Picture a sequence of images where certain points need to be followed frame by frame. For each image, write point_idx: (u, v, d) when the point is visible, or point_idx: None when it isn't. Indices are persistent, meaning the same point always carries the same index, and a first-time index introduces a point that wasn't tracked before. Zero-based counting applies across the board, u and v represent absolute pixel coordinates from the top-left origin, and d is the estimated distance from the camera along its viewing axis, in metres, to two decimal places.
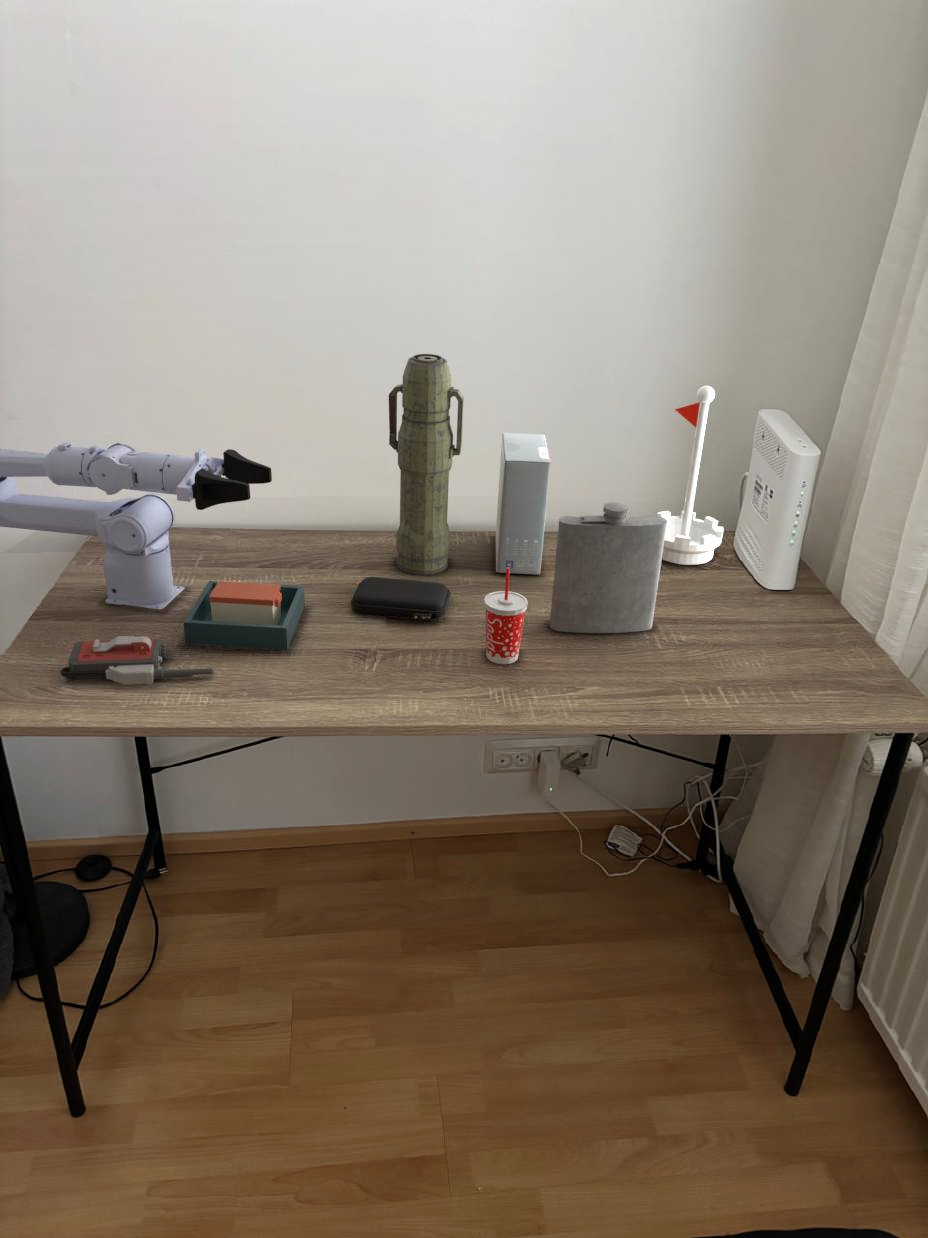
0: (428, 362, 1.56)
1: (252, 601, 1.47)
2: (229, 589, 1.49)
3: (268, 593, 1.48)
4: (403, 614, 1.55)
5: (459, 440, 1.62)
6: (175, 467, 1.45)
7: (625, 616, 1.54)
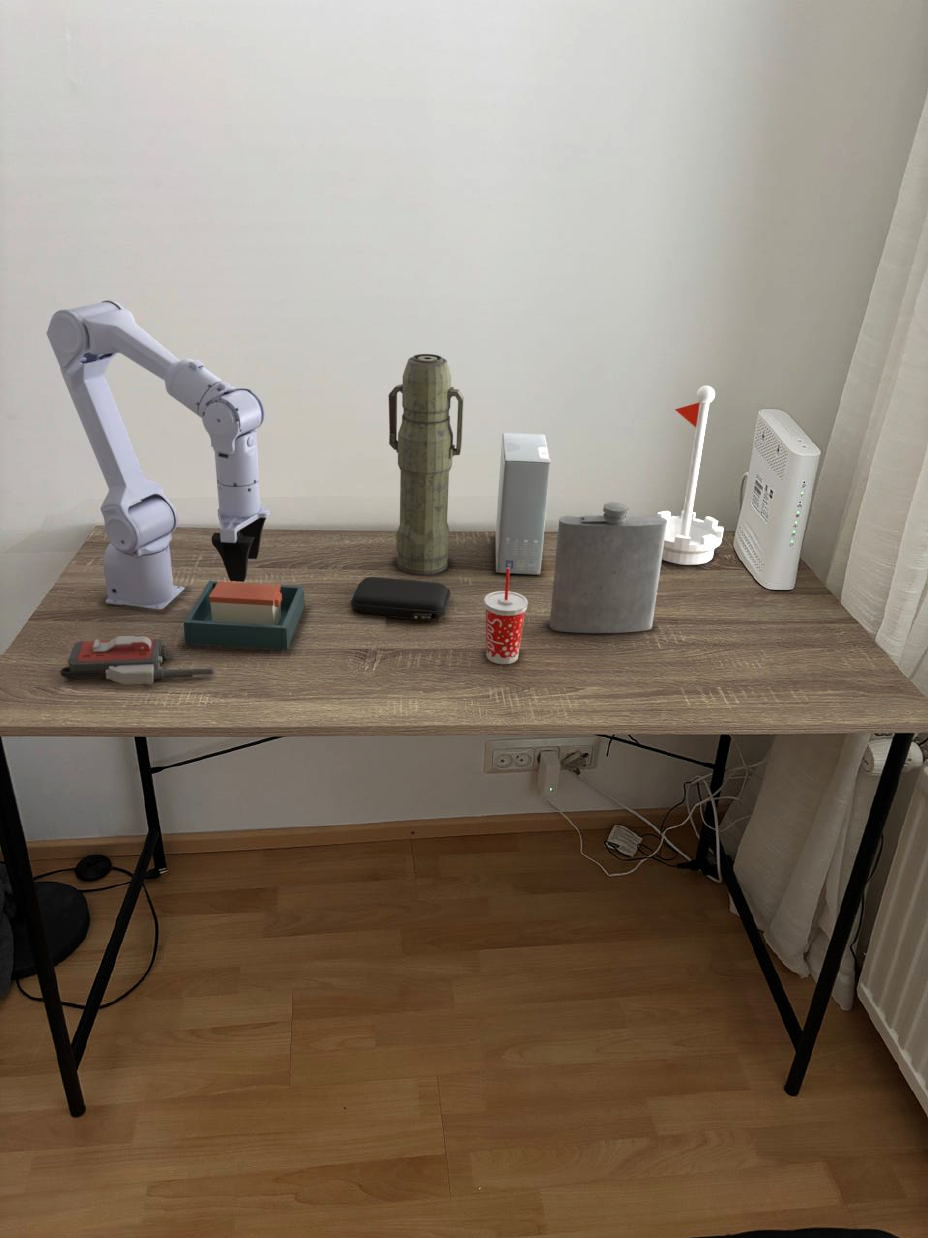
0: (428, 362, 1.56)
1: (252, 601, 1.47)
2: (229, 589, 1.49)
3: (268, 593, 1.48)
4: (403, 614, 1.55)
5: (459, 440, 1.62)
6: (248, 498, 1.40)
7: (625, 616, 1.54)
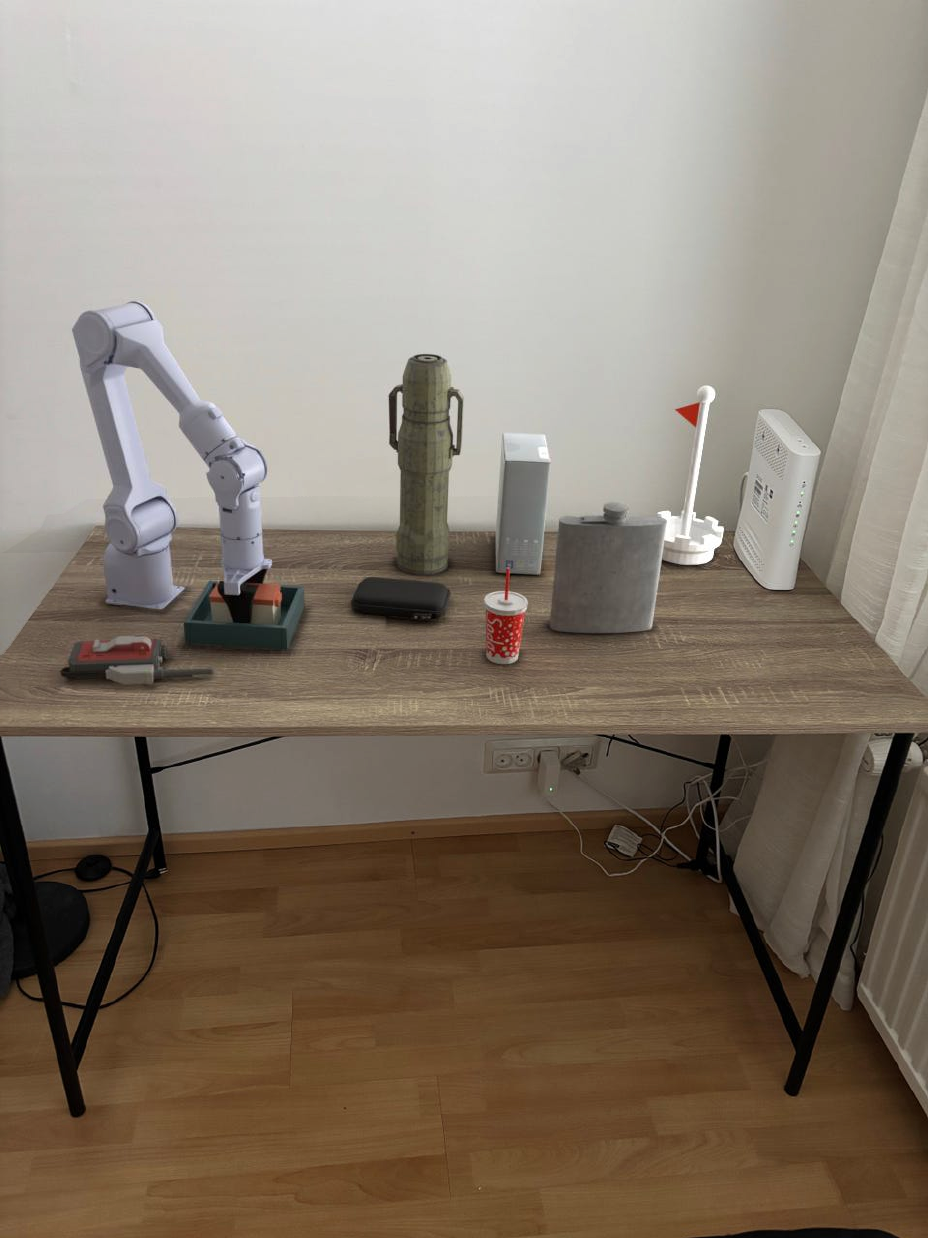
0: (428, 362, 1.56)
1: None
2: None
3: (268, 593, 1.48)
4: (403, 614, 1.55)
5: (459, 440, 1.62)
6: (251, 550, 1.44)
7: (625, 616, 1.54)
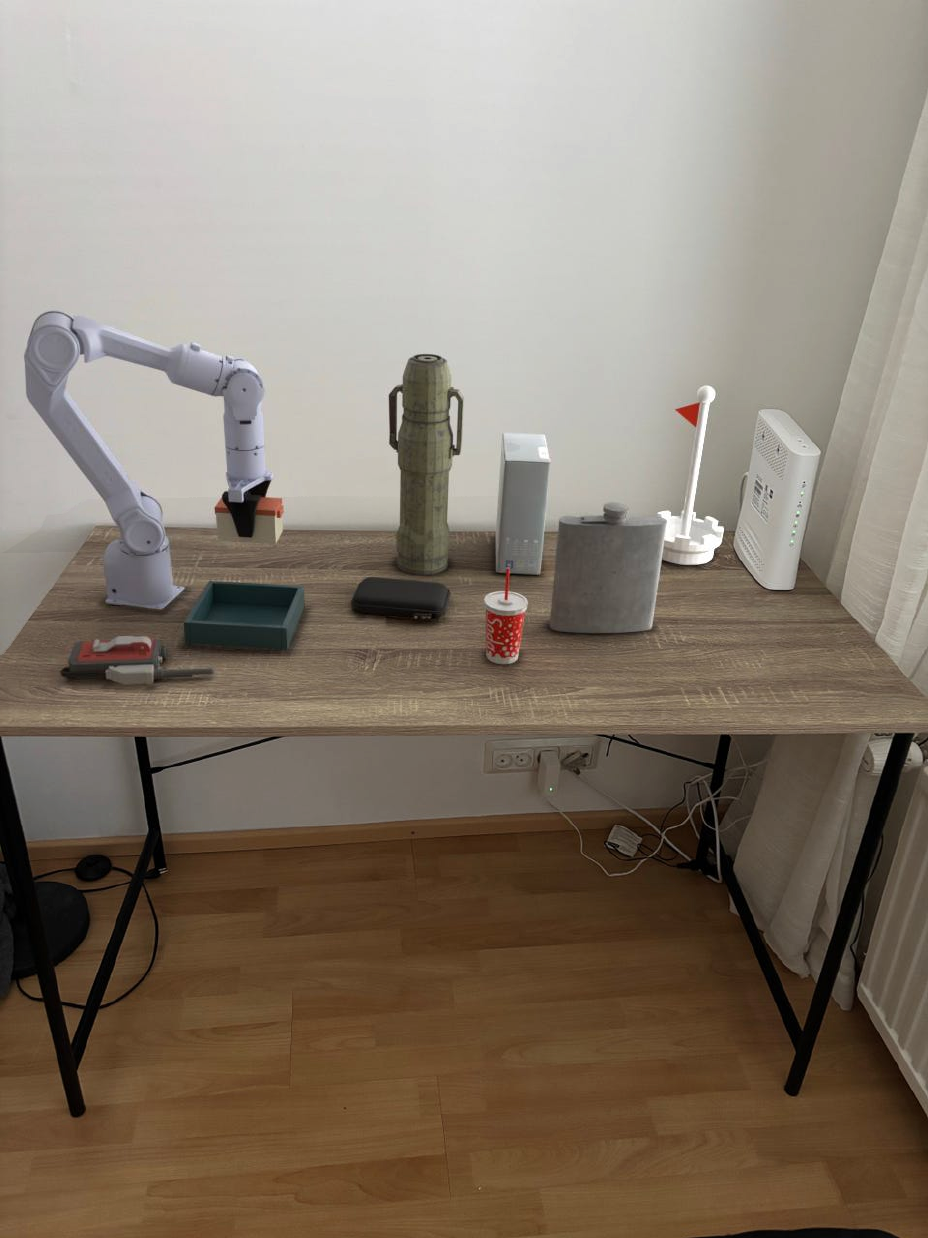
0: (428, 362, 1.56)
1: None
2: None
3: (270, 505, 1.56)
4: (403, 614, 1.55)
5: (459, 440, 1.62)
6: (254, 461, 1.51)
7: (625, 616, 1.54)
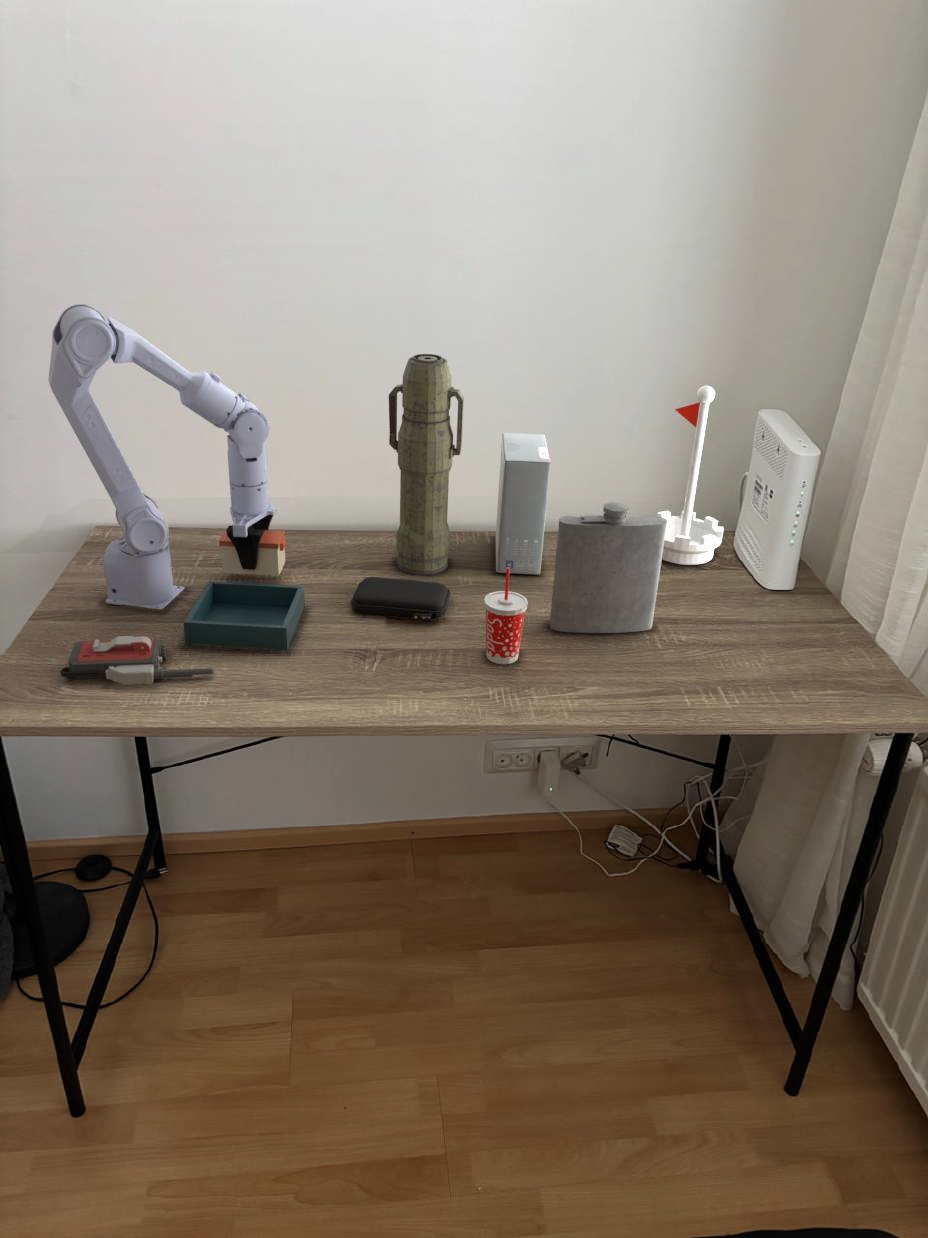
0: (428, 362, 1.56)
1: None
2: None
3: (273, 538, 1.61)
4: (403, 614, 1.55)
5: (459, 440, 1.62)
6: (258, 497, 1.56)
7: (625, 616, 1.54)
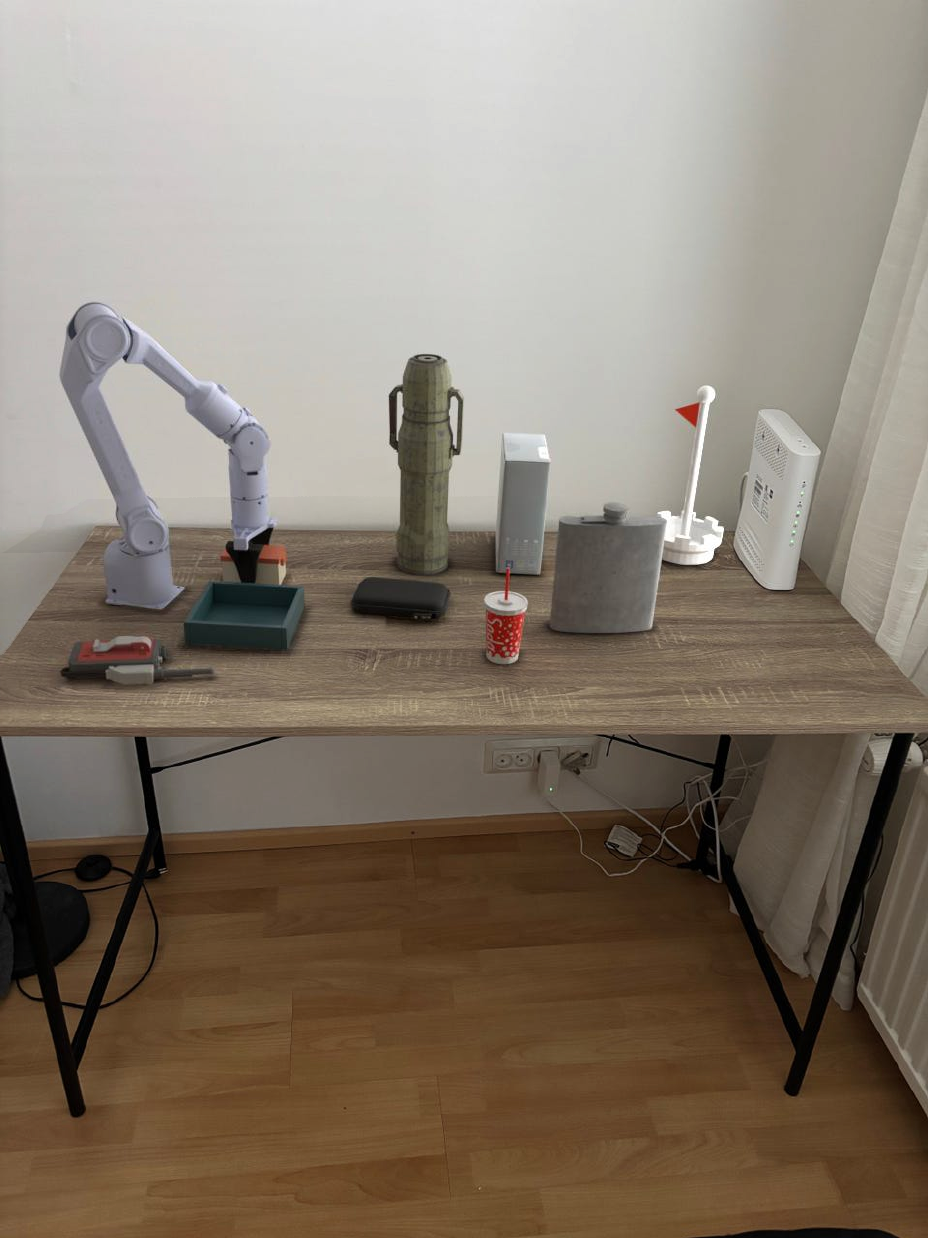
0: (428, 362, 1.56)
1: (259, 560, 1.61)
2: None
3: (274, 553, 1.62)
4: (403, 614, 1.55)
5: (459, 440, 1.62)
6: (258, 510, 1.57)
7: (625, 616, 1.54)
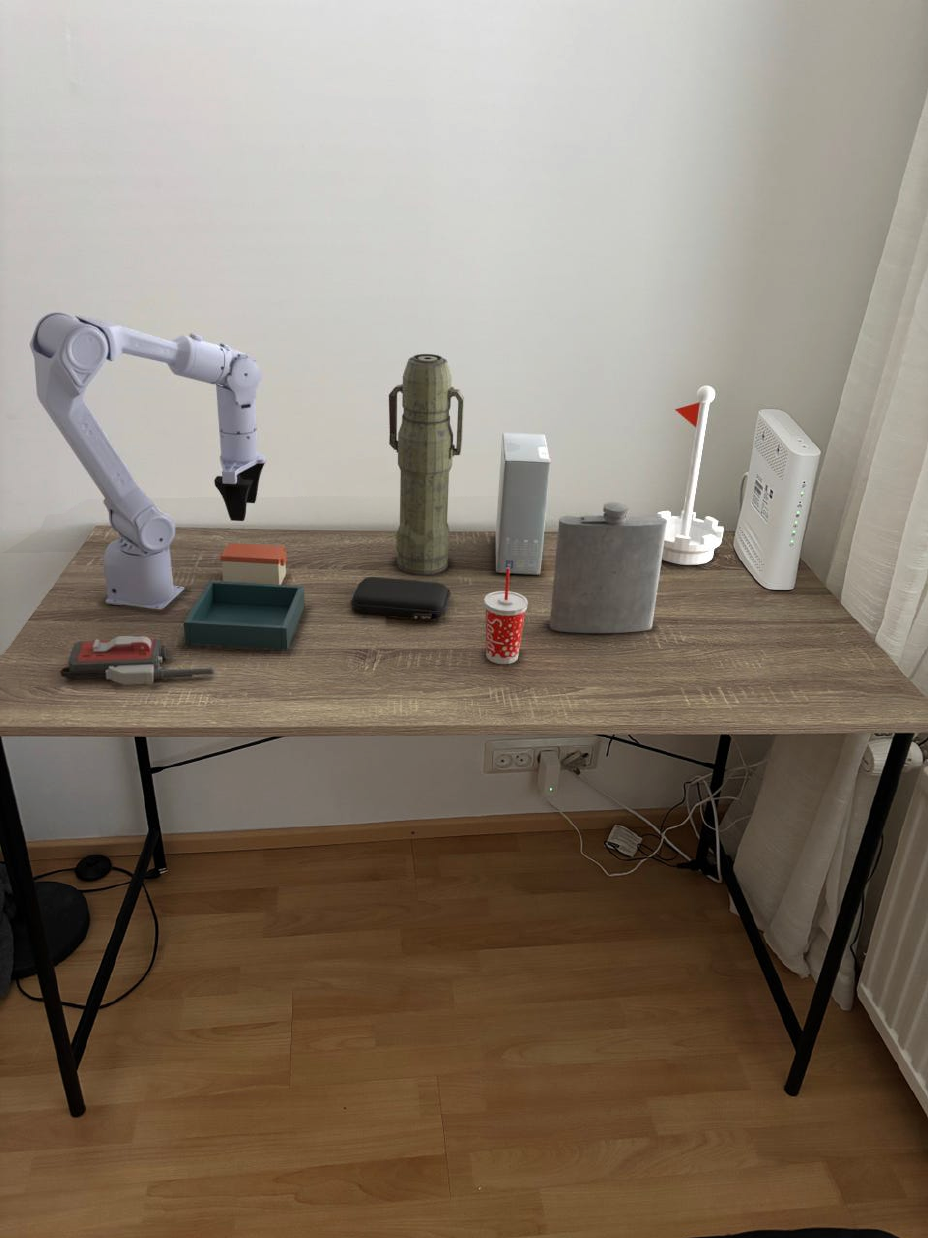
0: (428, 362, 1.56)
1: (259, 560, 1.61)
2: (239, 549, 1.63)
3: (274, 553, 1.62)
4: (403, 614, 1.55)
5: (459, 440, 1.62)
6: (247, 444, 1.57)
7: (625, 616, 1.54)
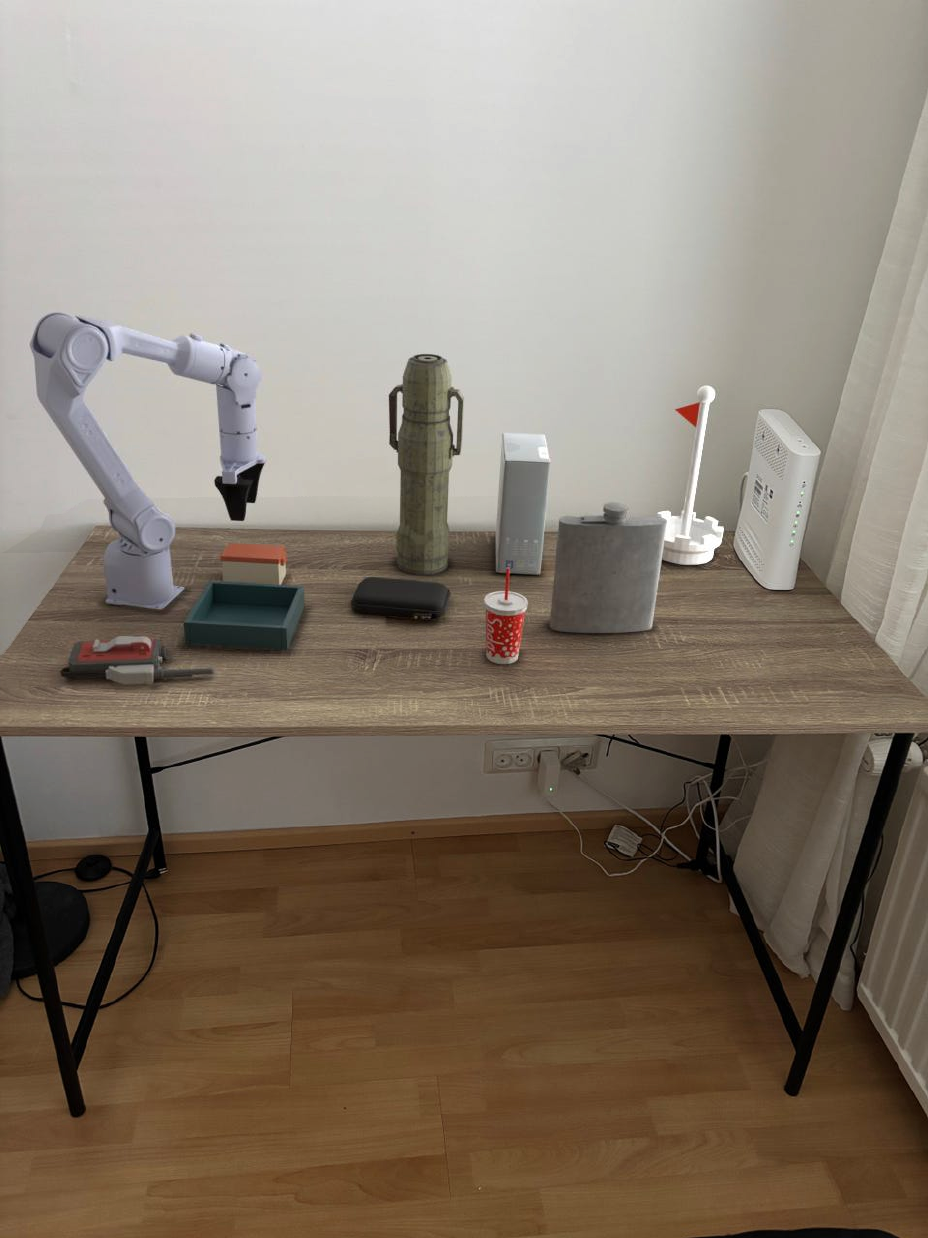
0: (428, 362, 1.56)
1: (259, 560, 1.61)
2: (239, 549, 1.63)
3: (274, 553, 1.62)
4: (403, 614, 1.55)
5: (459, 440, 1.62)
6: (247, 444, 1.57)
7: (625, 616, 1.54)
